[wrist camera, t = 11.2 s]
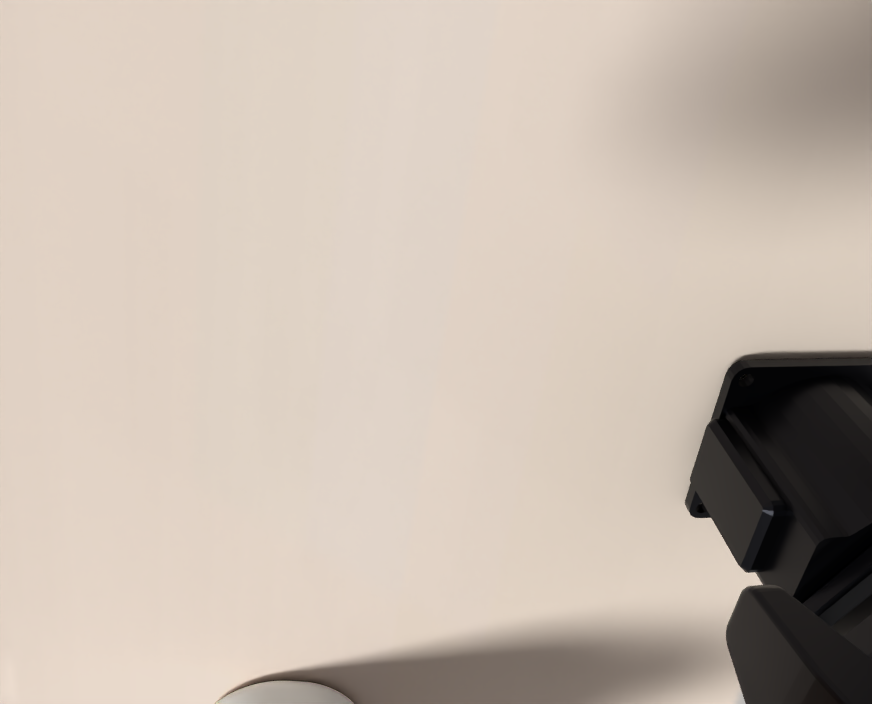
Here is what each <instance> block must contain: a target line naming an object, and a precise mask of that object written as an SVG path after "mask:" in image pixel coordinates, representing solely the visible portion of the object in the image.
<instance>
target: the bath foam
mask: <svg viewBox="0 0 872 704" xmlns="http://www.w3.org/2000/svg"><path fill="white" fill-rule="evenodd" d="M215 704H354V703H353V702H352V701H351V700H350V699H349V698H347V697H346V696H345V695H343V694H342V693H340V692H338V691H336V690H334V689H332V688H330V687H327V686H324V685H320V684H316V683H311V682H302V681H269V682H263V683H258V684H254V685H251V686H247V687H244V688H242V689H239V690H237V691H235V692H232V693H230V694H229V695H227V696H225V697H224V698H222V699H221V700H219V701H218V702H217V703H215Z"/></svg>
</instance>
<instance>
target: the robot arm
mask: <svg viewBox="0 0 872 704" xmlns="http://www.w3.org/2000/svg"><path fill="white" fill-rule="evenodd" d="M745 374H747V376H746V377H745V378H743V379H740V378H741V377H742V376H743V375H745ZM739 379H740V380H739ZM690 481H691V484H690V487H689V490H688V493H687V497H686V500H685V505H686V507H687V509H688V511H689V512H690V514H691V516H693V517H695V518H712V520H713V521H714V523H715V525H716V526H717V528H718V530H719V532H720V533H721V535H722V537H723V539H724V540H725V542H726V544H727V546H728V547H729V549H730V551H731V553H732V554H733V556H734V558H735V560H736V561H737V563H738V565H739V566H740V567H741V568H742V569H743V570H744V571H745V572H748V573H749V572H756V574H757V575H758V577H759V579H760V580H761V582H762V584H763V585H758V586H748V587H746V588H745V589H744V590H743V591H742V592H741V594H740V597H739V599H738V601H737V604H736V606H735V608H734V611H733V613H732V615H731V618H730V620H729V622H728V625H727V630H726V640H727V645H728V649H729V652H730V655H731V659H732V662H733V665H734V668H735V671H736V674H737V678H738V681H739V684H740V687H741V690H742V694H743V697H744V700H745V703H746V704H872V358H843V359H784V360H743V361H739V362H737V363H735V364H733V365H732V366H731V367H730V368H729V369H728V371H727V372H726V375H725V378H724V381H723V384H722V387H721V390H720V394H719V397H718V400H717V403H716V406H715V409H714V412H713V415H712V419H711V421H710V422H709V424H708V425H707V427H706V430H705V433H704V436H703V440H702V443H701V446H700V449H699V452H698V455H697V458H696V462H695V465H694V468H693V471H692V474H691V477H690ZM701 503H702V504H701Z"/></svg>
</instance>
